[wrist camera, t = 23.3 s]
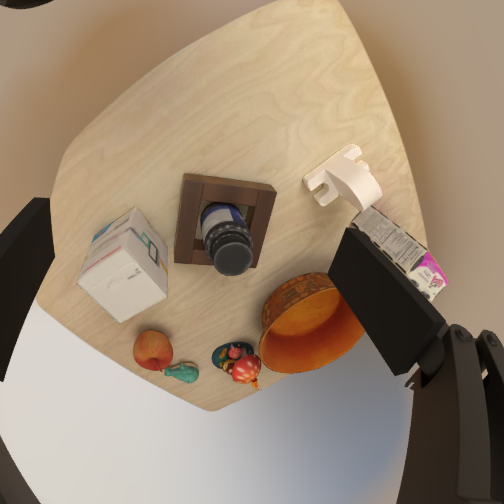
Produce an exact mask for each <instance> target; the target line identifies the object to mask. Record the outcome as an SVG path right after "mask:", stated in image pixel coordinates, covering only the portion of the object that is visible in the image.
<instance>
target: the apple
mask: <svg viewBox="0 0 504 504" xmlns="http://www.w3.org/2000/svg"><path fill="white" fill-rule="evenodd" d="M133 355H134V359H135V361H136V362H137V364H139V365H140V366H141V367H143V368H145V369H148V370H154V371H159V370H160V371H161V372H162V369H164V368H166V367H167V366H168V365H169V364H170V363H171V361H172V359H173V348H172V345H171V343H170V341H169V340H168V338H167V337H166V336H165V335H164V334H162V333H160V332H157V331H152V330H147V331H145V332H144V333H142V334H141V335H140V336H139V337H138V338H137V340H136V342H135V344H134V348H133Z"/></svg>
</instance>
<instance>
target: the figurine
mask: <svg viewBox="0 0 504 504" xmlns="http://www.w3.org/2000/svg"><path fill="white" fill-rule="evenodd" d="M212 361H213V364H214V365H215V366H216V367H218V368H220V369H223V371H224V372H227V373H228V374H231V375H232V377H233V380H234V381H236V382H237V383H242V384H247V383H249V382H251V381H252V386H253V387H254V388H256V387H258V382H257V378H256V377H257V376H258V374H259V372H260V370H261V360H260V358H259V357H258V356H257V355H254V350H253V348H252V346H251V345H249V344H247V343H243V342H233V343H228V344H225V345H222V346H220V347H218V348H217V349H216V350H215V351H214V352H213V355H212ZM256 389H257V388H256ZM256 389H255V391H256ZM258 390H259V389H258Z"/></svg>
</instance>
